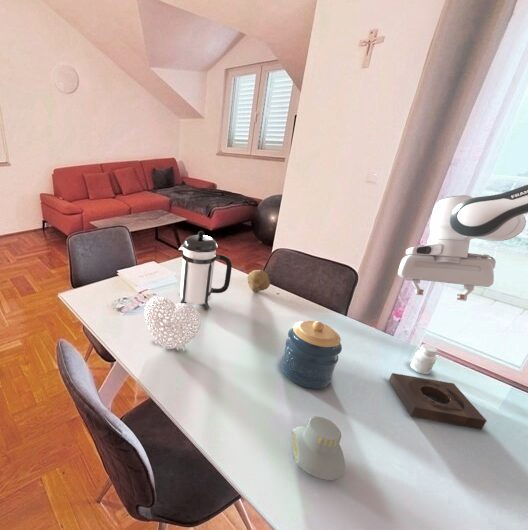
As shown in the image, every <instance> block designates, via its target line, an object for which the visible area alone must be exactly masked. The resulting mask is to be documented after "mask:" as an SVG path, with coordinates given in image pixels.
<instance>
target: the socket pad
mask: <svg viewBox="0 0 528 530" xmlns="http://www.w3.org/2000/svg"><path fill="white" fill-rule="evenodd" d="M388 383H389V384H390V386H391V388H392V389H393V391H394V392H395V394H396V395H397V397H398V398H399V400H400V402H401V403H402V405H403V406H404V408H405V409H406V411H407V413H408V414H409V415H410V417H415V418H418V419H424V420H429V421H435V422H440V423H444V424H451V425H455V426H461V427H465V428H471V429H474V430H475V429H476V430H482V429H483V428H484V426H485V425H486V423H487V421H488V420H487V419H486V418H485V417H484V416H483V415H482V413H481V412H480V411H479V410H478V409H477V408H476V407H475V406H474V405H473V403H472V402H471V401H470V400H469V399H468V398H467V396H466V395H465V394H464V393H463V392H462V391H461V390H460V388H459V387H458V386H457V385H456V384H455V383H453V382H447V381H443V380H437V379H432V378H431V379H430V378H424V377H419V376H412V375H407V374H400V373H395V372H392V373H391V375H390V376H389V379H388ZM427 396H428V397H427ZM429 397H430V398H429ZM431 398H433V399H434V400H433V399H431ZM435 400H436V401H435ZM437 401H438V402H437Z"/></svg>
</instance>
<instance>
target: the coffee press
mask: <svg viewBox="0 0 528 530" xmlns="http://www.w3.org/2000/svg"><path fill="white" fill-rule="evenodd" d="M217 250H218V244H217V241H216V240H215V239H214V238H213V237H211V236H208V235H205V231H203V230H200V231H198V232H197V234H194V235H189V236H187V237H186V238H185V239H184V240H183V242H182V244H181V245H180V247H178V251H181V252H182V253H181V254H182V255H181V257H182V262H181V263H182V264H181V277H180V287H179V289H180V290H179V296H180V298H181V301H180V302H179V303H184V304H189V305H197V306H198V305H199V306H200V305H202V306H203V308H204V310H208V309H209V308H210V305H209V301H210V299H211V295H212V294H222V293H224V292H226V291H227V290H228V288H229V286H230V282H231V275H232V267H233V266H232V261H231V259H230V258H229V257H228V256H226V255H224V254H217ZM216 260H220V261H223V262H225V264H226V271H225V279H224V282H223V286H221V287H220V288H214V287H212V285H213V279H214V277H213V276H214V271H215V269H214V268H215V263H216Z"/></svg>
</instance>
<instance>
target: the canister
mask: <svg viewBox="0 0 528 530" xmlns="http://www.w3.org/2000/svg"><path fill="white" fill-rule="evenodd" d="M287 337H288V338H287V339H286V341H285V347H284V350H283V354H282V356H281V360H280V369H281V371H282V373H283V375H284V376H285V377H286V378H287V379H289V380H290V381H291V382H293V383H294V384H296V385H298V386H300V387H304V388H307V389H311V390H320V389H324V388H326V387H328V385H329V384H331V382H332V379H333V375H334V371H335V368H336V365H337V363H338V361H339V354H341V353H342V350H343V346H342V343H341V336H340V334H339V333H338V332H337V331H336V330H334V329H333V328H332V327H330V326H329V325H328V324H325V323H323V322H322V321H320V320H301V321H297V322H295V323H294V324H293V326H292V328H290V329H289V330H288V331H287Z"/></svg>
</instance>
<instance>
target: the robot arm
mask: <svg viewBox="0 0 528 530" xmlns="http://www.w3.org/2000/svg"><path fill="white" fill-rule="evenodd" d="M527 214H528V184H525V185H522V186H519V187H516V188H514V189H511V190H509V191H505V192H502V193H497V194H491V195H483V196H477V197H476V196H475V197H473V196H471V195H465V194H463V195H462V194H461V195H451V196H448V197H444V198H442V199H440V200H439V201H437V202H436V203H435V204H434V207H433V210H432V213H431V217H430V221H429V233H430V234H429V237H428V239H427V240H426V244H425V245H424V244H421V245H417V246H412V247H409V248H407V249H405V255H406V256H404V257H403V258H402V259H401V260H400V262H399V263H400V264H399V267H398V270H397V276H398V277H399V278H400V279H408V280H411V284H412V286H413V288H414V295H416V296H424V290H425V289H421V287H420V286H419V284H420V283H421V281H426V282H435V283H443V284H452V285H453V284H454V285H463V289H465V290H464V291H462V293H457V297H456V300H457V301H465V302H466V301H467V299H468V295H470V293H472V292H473V291H474V290H475V287H480V288H481V287H483V288H490V287H491V286H493V285H494V281H495V273H494V269H495V268H496V263H497V261H496V259H495V258H494V257H493V256H490V254H485V253H484V254H483V253H481V254H480V253H479V254H478V253H471V252H469V248H470V242H471V240H474V239H475V240H476V239H477V240H478V239H479V240H482V241H483V240H484V241H486V242H503V241H508V240H511V239H513V238H515V237H517V236H519V234H521V233H522V232H523V231H524V230H525V227H526V225H527V224H526V223H527V220H526V217H525V215H527Z"/></svg>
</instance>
